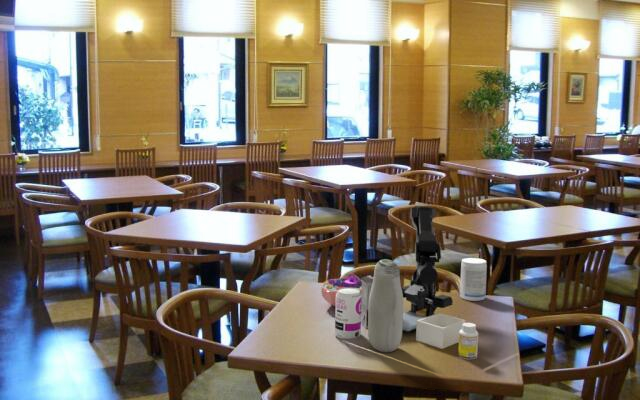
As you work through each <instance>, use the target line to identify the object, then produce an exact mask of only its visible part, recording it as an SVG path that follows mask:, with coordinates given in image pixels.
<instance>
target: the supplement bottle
mask: <svg viewBox="0 0 640 400" xmlns="http://www.w3.org/2000/svg"><path fill="white" fill-rule="evenodd" d="M478 344H479V332H478V331H477V325H476V324H475V323H473V322H465V323H463V324H462V329H461V330H460V331H459V342H458V350H457V351H458V353H457V356H458V357H459V358H460V359H464V360H474V359H475V360H476V359H477V358H478V348H479V347H478V346H479V345H478Z"/></svg>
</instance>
